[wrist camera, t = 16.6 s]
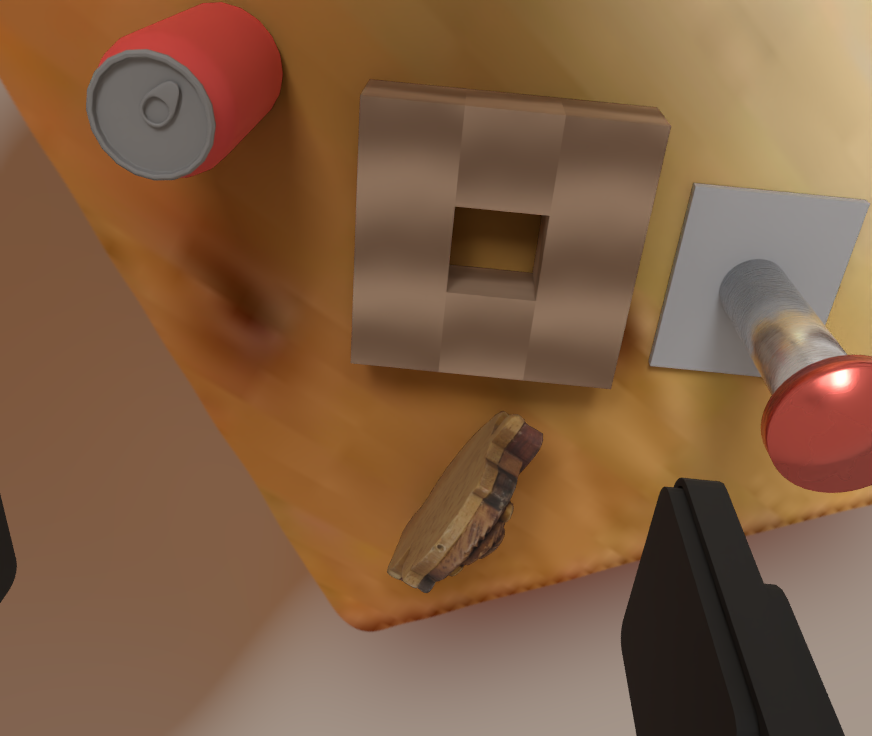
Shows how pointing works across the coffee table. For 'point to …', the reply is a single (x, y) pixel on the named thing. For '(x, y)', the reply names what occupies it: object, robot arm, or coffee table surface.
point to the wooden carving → (466, 504)
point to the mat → (741, 241)
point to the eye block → (502, 191)
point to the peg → (803, 382)
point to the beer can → (184, 91)
